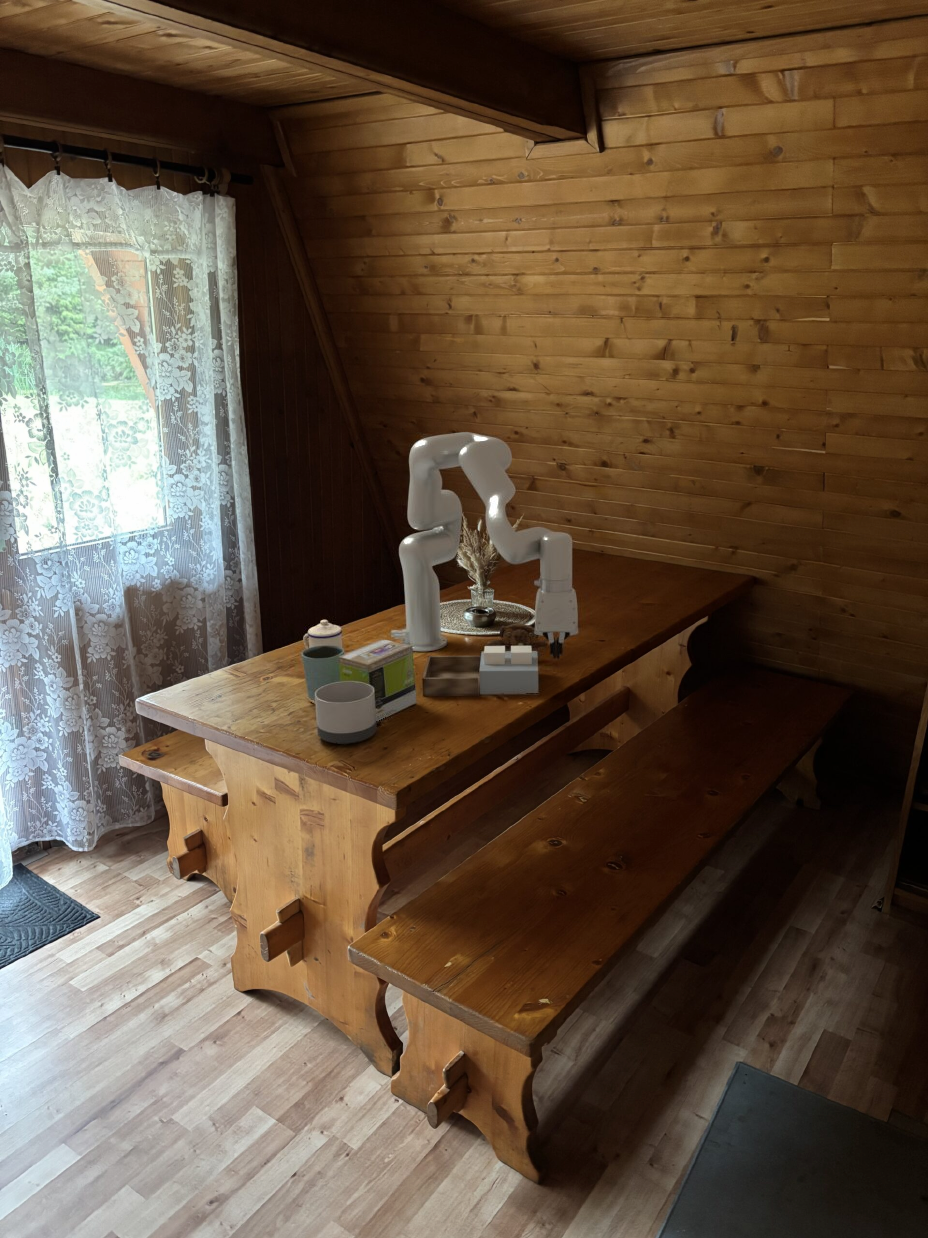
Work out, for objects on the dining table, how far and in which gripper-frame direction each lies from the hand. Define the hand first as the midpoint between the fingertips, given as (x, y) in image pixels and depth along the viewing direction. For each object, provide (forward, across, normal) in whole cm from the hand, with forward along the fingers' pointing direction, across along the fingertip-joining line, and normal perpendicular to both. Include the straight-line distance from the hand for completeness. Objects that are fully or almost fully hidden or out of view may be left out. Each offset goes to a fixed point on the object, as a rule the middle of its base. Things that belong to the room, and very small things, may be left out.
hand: (556, 656), depth 234 cm
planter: (+7, -46, -31) cm, 56 cm away
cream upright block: (+1, -8, 0) cm, 9 cm away
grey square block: (+7, -12, 0) cm, 13 cm away
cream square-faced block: (+1, -15, 0) cm, 15 cm away
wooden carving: (+7, -10, +16) cm, 20 cm away
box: (+7, -26, 0) cm, 26 cm away
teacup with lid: (+7, -62, +17) cm, 64 cm away
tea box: (+7, -42, -16) cm, 45 cm away
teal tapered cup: (+7, -56, -9) cm, 57 cm away
